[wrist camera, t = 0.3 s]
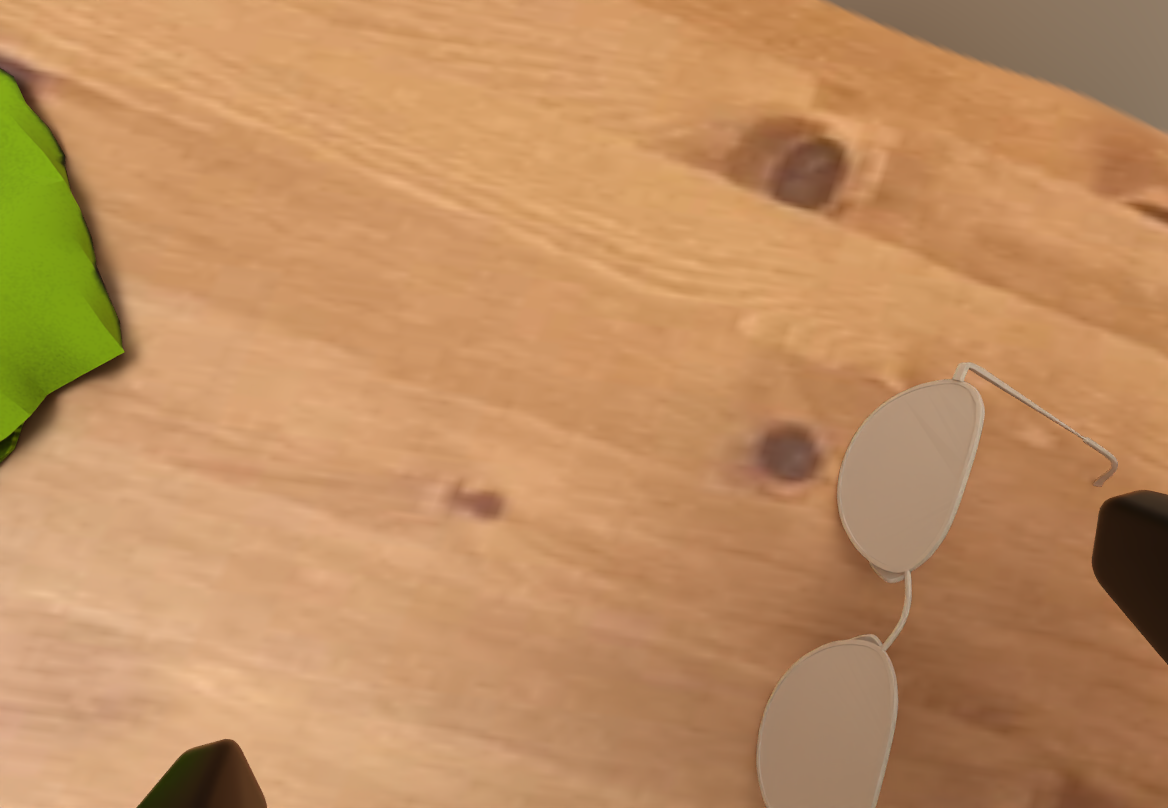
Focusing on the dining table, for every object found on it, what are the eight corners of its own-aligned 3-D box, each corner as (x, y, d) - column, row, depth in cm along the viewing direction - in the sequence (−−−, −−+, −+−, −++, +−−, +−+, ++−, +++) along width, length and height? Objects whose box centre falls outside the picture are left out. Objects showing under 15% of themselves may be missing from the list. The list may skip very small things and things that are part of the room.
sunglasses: (870, 370, 24) (1000, 350, 20) (1065, 468, 27) (1224, 471, 22) (729, 821, 22) (837, 921, 17) (955, 887, 24) (1107, 993, 19)
